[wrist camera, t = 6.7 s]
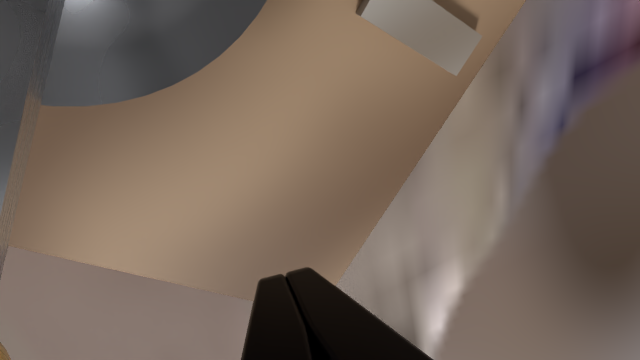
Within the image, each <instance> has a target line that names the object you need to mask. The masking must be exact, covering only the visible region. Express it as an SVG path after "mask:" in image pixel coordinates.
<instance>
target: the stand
mask: <svg viewBox="0 0 640 360" xmlns="http://www.w3.org/2000/svg"><path fill="white" fill-rule="evenodd" d="M525 1H526V0H267V1H266V3H265V4H264V6H263V7H262V9H261V11H260V12H259V14H258V15H257V17H256V18H255V19H254V20H253V21H252V23H251V24H250V25H249V26H248V28H247V29H246V30H245V31H244V33H243V34H242V35H241V36H240V37H239V38H238V39H237V40H236V41H235V42H234V43H233V44H232V45H231V46H230V47H229V48H228V49H227V50H226V51H225V52H223V53H222V54H221V55H220V56H219V57H218V58H216V59H215V60H214V61H212V62H211V63H209V64H208V65H207V66H205V67H204V68H202V69H201V70H200V71H198V72H197V73H195V74H193V75H191V76H189V77H188V78H186V79H184V80H182V81H180V82H178V83H176V84H174V85H173V86H170V87H167V88H165V89H162V90H159V91H157V92H154V93H152V94H149V95H146V96H143V97H139V98H134V99H130V100H126V101H122V102H118V103H110V104H102V105H93V106H45V105H41V106H40V110H39V115H38V119H37V123H36V127H35V132H34V136H33V140H32V145H31V149H30V153H29V158H28V162H27V166H26V171H25V175H24V179H23V183H22V188H21V192H20V196H19V201H18V205H17V209H16V214H15V218H14V222H13V227H12V231H11V235H10V239H9V244H8V246H11V247H16V248H20V249H25V250H29V251H33V252H38V253H42V254H47V255H51V256H56V257H60V258H64V259H69V260H73V261H78V262H82V263H86V264H91V265H95V266H100V267H104V268H108V269H113V270H117V271H122V272H126V273H131V274H135V275H139V276H144V277H148V278H153V279H157V280H161V281H166V282H170V283H175V284H179V285H184V286H188V287H192V288H197V289H201V290H206V291H210V292H214V293H219V294H223V295H228V296H232V297H237V298H241V299H245V300H250V301H254V297H255V293H256V288H257V284H258V281H259V280H260V279H262V278H265V277H269V276H273V275H277V274H283V275H284V276H285V275H286V273H287V272H289V271H293V270H297V269H301V268H305V267H309V268H312V269H313V270H315V271H316V272H317V273H319V274H320V275H321V276H323V277H324V278H325V279H327V280H328V281H329V282H331V283H332V284H333V285H335V286H336V284H337V283H338V281H339V280H340V278H341V277H342V275H343V274H344V272H345V271H346V269H347V268H348V266H349V265H350V263H351V262H352V260H353V259H354V257H355V256H356V254H357V253H358V251H359V250H360V248H361V247H362V245H363V244H364V242H365V241H366V239H367V238H368V236H369V235H370V233H371V232H372V230H373V229H374V227H375V226H376V224H377V223H378V221H379V220H380V218H381V217H382V215H383V214H384V212H385V211H386V209H387V208H388V206H389V205H390V203H391V202H392V200H393V199H394V197H395V196H396V194H397V193H398V191H399V190H400V188H401V187H402V185H403V184H404V182H405V181H406V179H407V178H408V176H409V175H410V173H411V172H412V170H413V169H414V167H415V166H416V164H417V163H418V161H419V160H420V158H421V157H422V155H423V154H424V152H425V151H426V149H427V148H428V146H429V145H430V143H431V142H432V140H433V139H434V137H435V136H436V134H437V133H438V131H439V130H440V128H441V127H442V125H443V124H444V122H445V121H446V119H447V118H448V116H449V115H450V113H451V112H452V110H453V109H454V107H455V106H456V104H457V103H458V101H459V100H460V98H461V97H462V95H463V94H464V92H465V91H466V89H467V88H468V86H469V85H470V83H471V82H472V80H473V79H474V77H475V76H476V74H477V73H478V71H479V70H480V68H481V67H482V65H483V64H484V62H485V61H486V59H487V58H488V56H489V55H490V54H491V52H492V51H493V49H494V48H495V46H496V45H497V43H498V42H499V40H500V39H501V37H502V36H503V34H504V33H505V31H506V30H507V28H508V27H509V25H510V24H511V22H512V21H513V19H514V18H515V16H516V15H517V13H518V12H519V10H520V9H521V7H522V6H523V4H524V3H525Z"/></svg>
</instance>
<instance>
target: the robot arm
mask: <svg viewBox="0 0 640 360" xmlns="http://www.w3.org/2000/svg"><path fill="white" fill-rule="evenodd" d="M241 360H433V359H432V358H430V357H429V356H428V355H426V354H425V353H424V352H422V351H421V350H420V349H418V348H417V347H416V346H414V345H413V344H412V343H410V342H409V341H408V340H406V339H405V338H404V337H402V336H401V335H400V334H398V333H397V332H396V331H394V330H393V329H392V328H390V327H389V326H388V325H386V324H385V323H384V322H382V321H381V320H380V319H378V318H377V317H376V316H374V315H373V314H372V313H370V312H369V311H368V310H366V309H365V308H364V307H362V306H361V305H360V304H358V303H357V302H356V301H355V300H353V299H352V298H351V297H349V296H348V295H347V294H345V293H344V292H343V291H341V290H340V289H339V288H337V287H336V286H335V285H333V284H332V283H331V282H329V281H328V280H327V279H325V278H324V277H323V276H321V275H320V274H319V273H317V272H316V271H315V270H313V269H312V268H309V267H305V268H301V269H297V270H293V271H289V272H287V273H286V275H285V276H284V275H283V274H277V275H273V276H269V277H265V278H262V279H260V280H259V281H258V284H257V288H256V293H255V297H254V302H253V306H252V311H251V316H250V320H249V325H248V329H247V334H246V339H245V343H244V348H243V352H242V357H241Z"/></svg>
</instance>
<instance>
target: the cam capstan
mask: <svg viewBox="0 0 640 360" xmlns="http://www.w3.org/2000/svg"><path fill="white" fill-rule="evenodd" d="M266 1H267V0H0V278H1V274H2V270H3V265H4V261H5V257H6V252H7V248H8V244H9V239H10V235H11V231H12V227H13V222H14V218H15V214H16V209H17V205H18V201H19V196H20V192H21V188H22V183H23V179H24V175H25V171H26V166H27V162H28V158H29V153H30V149H31V145H32V140H33V136H34V132H35V127H36V123H37V119H38V115H39V110H40V106H41V105H45V106H93V105H102V104H110V103H118V102H122V101H126V100H130V99H134V98H139V97H143V96H146V95H149V94H152V93H154V92H157V91H159V90H162V89H165V88H167V87H170V86H173V85H174V84H176V83H178V82H180V81H182V80H184V79H186V78H188V77H189V76H191V75H193V74H195V73H197V72H198V71H200V70H201V69H202V68H204V67H205V66H207V65H208V64H209V63H211V62H212V61H214V60H215V59H216V58H218V57H219V56H220V55H221V54H222V53H223V52H225V51H226V50H227V49H228V48H229V47H230V46H231V45H232V44H233V43H234V42H235V41H236V40H237V39H238V38H239V37H240V36H241V35H242V34H243V33H244V31H245V30H246V29H247V28H248V26H249V25H250V24H251V23H252V21H253V20H254V19H255V18H256V17H257V15H258V14H259V12H260V11H261V9H262V7H263V6H264V4H265V3H266ZM0 360H11V359H10V357H9V355H8V353H7V351H6V349H5V348H4V346H3V345H2V344H1V342H0Z"/></svg>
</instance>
